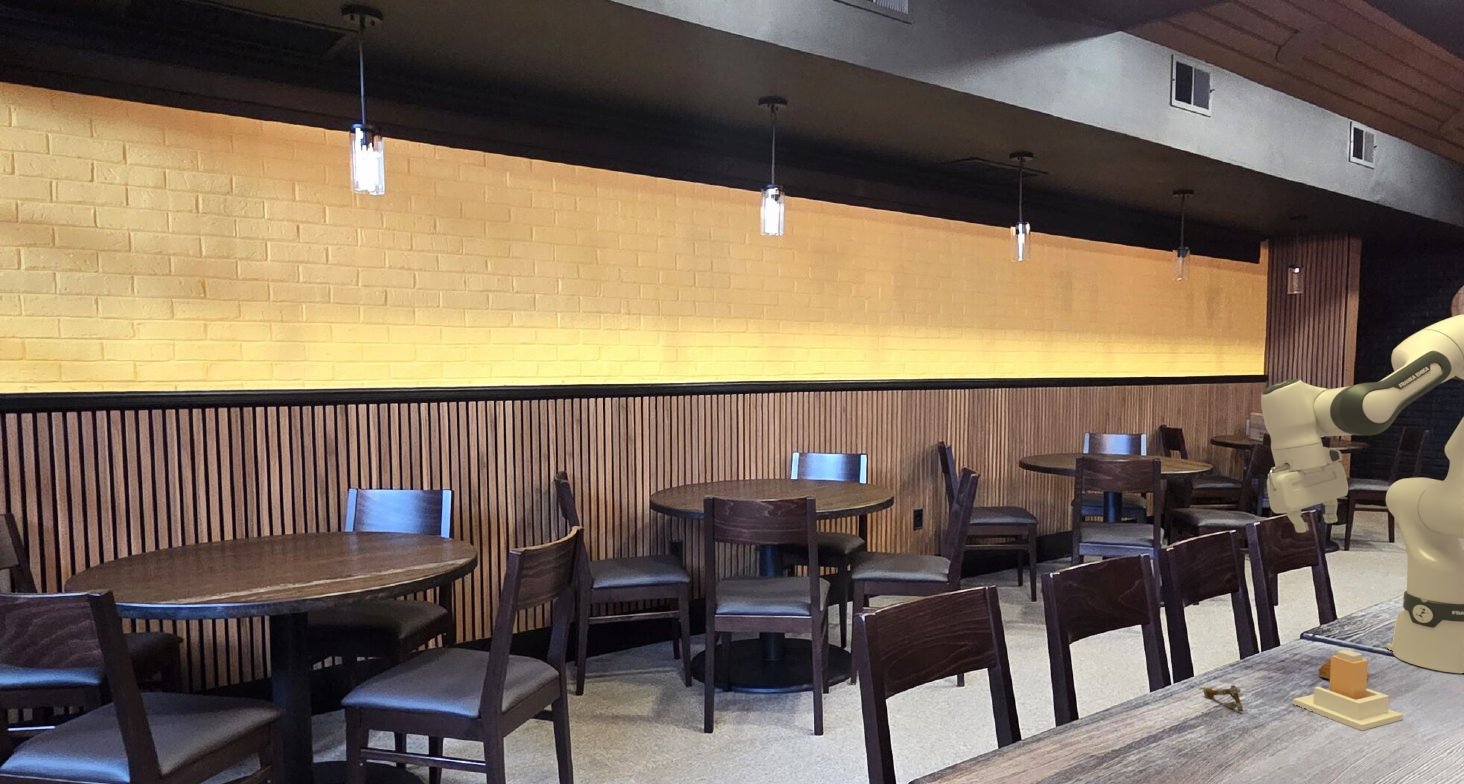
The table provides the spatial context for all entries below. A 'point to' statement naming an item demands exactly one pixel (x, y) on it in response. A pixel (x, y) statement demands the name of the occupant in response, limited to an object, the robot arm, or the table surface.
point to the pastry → (1328, 670)
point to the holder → (1351, 708)
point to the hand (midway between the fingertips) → (1317, 527)
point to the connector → (1348, 674)
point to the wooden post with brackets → (1235, 690)
